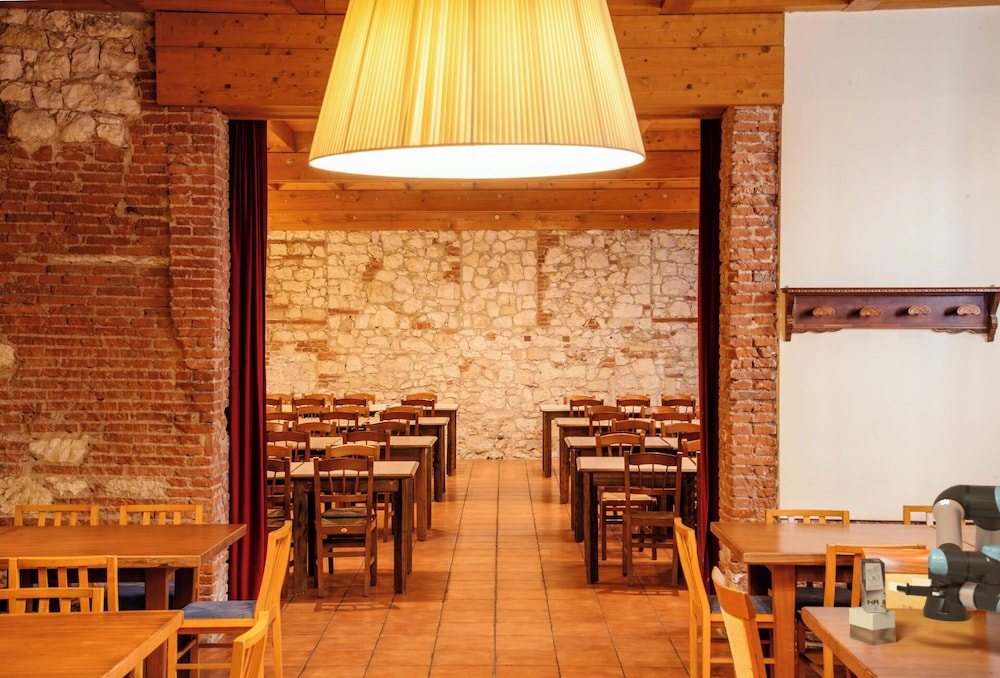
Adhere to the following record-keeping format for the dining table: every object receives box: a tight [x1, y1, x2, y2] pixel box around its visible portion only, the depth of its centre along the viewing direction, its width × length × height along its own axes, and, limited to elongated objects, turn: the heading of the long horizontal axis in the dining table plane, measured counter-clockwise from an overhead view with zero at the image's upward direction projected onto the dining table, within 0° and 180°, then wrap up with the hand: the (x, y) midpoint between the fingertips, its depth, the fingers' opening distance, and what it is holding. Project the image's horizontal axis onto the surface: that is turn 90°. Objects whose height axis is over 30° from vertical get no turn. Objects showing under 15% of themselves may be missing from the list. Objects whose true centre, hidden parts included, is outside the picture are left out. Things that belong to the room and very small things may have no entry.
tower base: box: [849, 624, 897, 646], centre depth 340 cm, size 10×10×5 cm
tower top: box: [848, 606, 896, 630], centre depth 341 cm, size 10×10×5 cm
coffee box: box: [859, 557, 887, 613], centre depth 341 cm, size 9×6×16 cm
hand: (900, 583), depth 333 cm, fingers open, 13 cm apart
